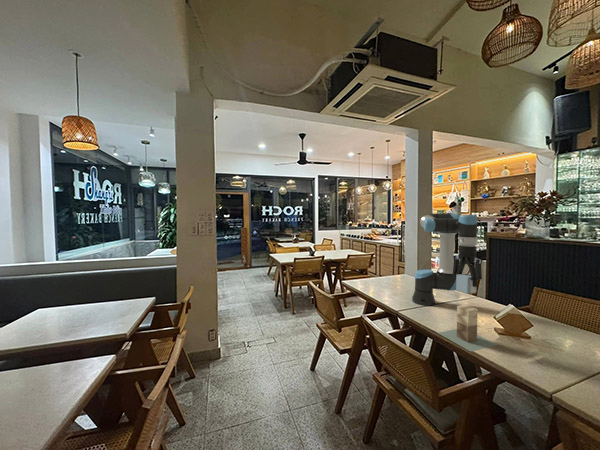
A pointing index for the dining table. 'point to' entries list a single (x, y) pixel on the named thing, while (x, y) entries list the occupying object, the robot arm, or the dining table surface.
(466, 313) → the beech block
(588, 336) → the dining table surface
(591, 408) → the dining table surface
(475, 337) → the walnut block
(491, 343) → the build plate
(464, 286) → the blue block
